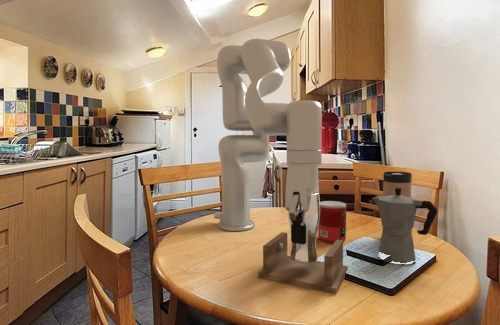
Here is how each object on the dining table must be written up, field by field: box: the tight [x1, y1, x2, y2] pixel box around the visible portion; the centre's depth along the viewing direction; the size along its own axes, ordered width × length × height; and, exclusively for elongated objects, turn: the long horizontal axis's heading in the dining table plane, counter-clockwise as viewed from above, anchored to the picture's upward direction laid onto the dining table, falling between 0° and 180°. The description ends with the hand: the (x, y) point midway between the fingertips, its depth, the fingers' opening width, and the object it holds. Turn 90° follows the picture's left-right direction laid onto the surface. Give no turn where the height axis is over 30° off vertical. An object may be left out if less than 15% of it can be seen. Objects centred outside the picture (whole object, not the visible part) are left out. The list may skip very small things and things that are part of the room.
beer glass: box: [287, 191, 321, 263], centre depth 71 cm, size 7×7×15 cm
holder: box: [257, 231, 349, 295], centre depth 71 cm, size 17×12×7 cm
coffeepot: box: [371, 188, 438, 263], centre depth 79 cm, size 15×9×18 cm, turn 43°
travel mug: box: [382, 171, 413, 198], centre depth 94 cm, size 8×8×20 cm
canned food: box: [317, 200, 347, 244], centre depth 95 cm, size 8×8×11 cm
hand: (303, 237), depth 71 cm, fingers closed on beer glass, 6 cm apart
